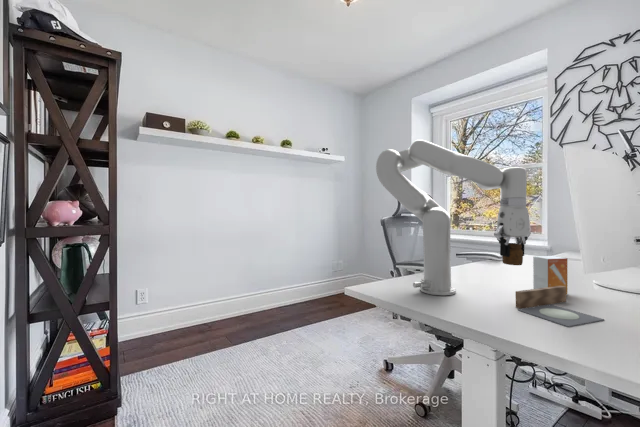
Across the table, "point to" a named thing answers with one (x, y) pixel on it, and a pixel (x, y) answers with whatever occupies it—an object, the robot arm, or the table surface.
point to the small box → (549, 272)
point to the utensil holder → (514, 255)
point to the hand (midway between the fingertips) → (512, 255)
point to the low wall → (540, 296)
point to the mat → (560, 315)
